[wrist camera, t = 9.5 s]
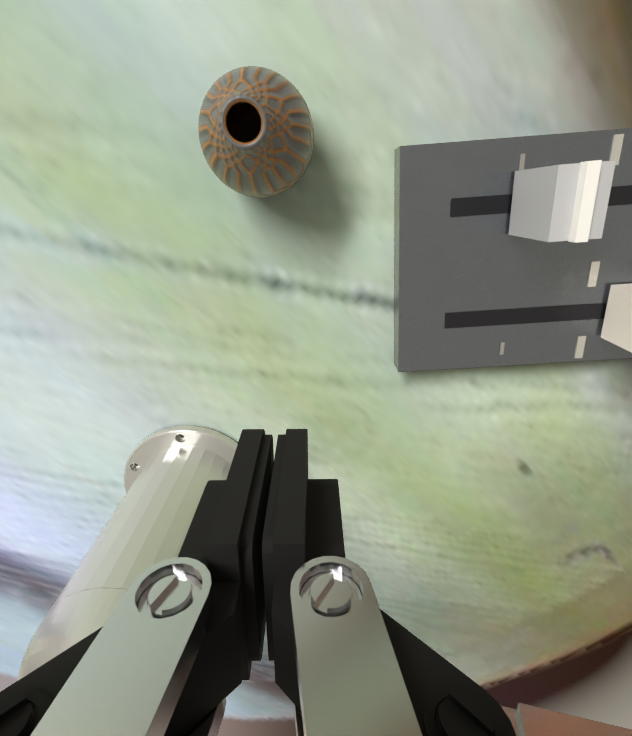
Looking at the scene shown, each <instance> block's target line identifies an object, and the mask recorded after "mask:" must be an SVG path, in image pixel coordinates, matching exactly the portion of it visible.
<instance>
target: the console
mask: <svg viewBox="0 0 632 736" xmlns="http://www.w3.org/2000/svg"><path fill="white" fill-rule="evenodd" d="M594 160H602V161H614V160H616V164H615V169H614V175H613V180H612V185H611V191H610V196H609V202H608V207H607V213H606V218H605V223H604V229H603V234H602V238H601V239H588V242H578V243H574V242H568V241H557V242H545V241H540V240H534V239H529V238H524V237H518V236H513V235H508V234H509V225H510V215H511V205H512V195H513V186H514V176H515V171H519V170H526V169H533V168H540V167H547V166H553V165H562V164H575V163H580V162H585V161H594ZM630 283H632V128H627V129H614V130H602V131H589V132H576V133H563V134H551V135H538V136H525V137H513V138H500V139H487V140H474V141H462V142H449V143H436V144H423V145H411V146H400V147H398V148H397V149H395V234H394V364H395V366H396V368H397V370H398V372H405V371H422V370H439V369H456V368H473V367H490V366H506V365H523V364H540V363H557V362H574V361H591V360H608V359H624V358H632V353H631V352H629V351H627V350H625V349H623V348H621V347H619V346H617V345H615V344H613V343H611V342H609V341H607V340H605V339H603V338H601V332H602V327H603V322H604V317H605V312H606V307H607V302H608V297H609V292H610V287H611V285H615V284H630Z"/></svg>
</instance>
